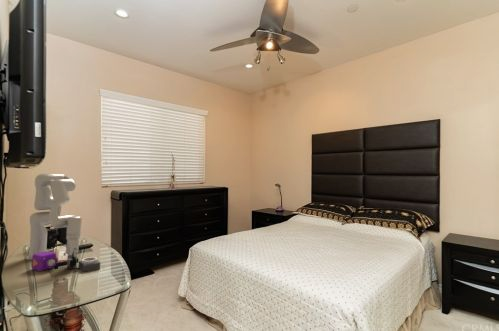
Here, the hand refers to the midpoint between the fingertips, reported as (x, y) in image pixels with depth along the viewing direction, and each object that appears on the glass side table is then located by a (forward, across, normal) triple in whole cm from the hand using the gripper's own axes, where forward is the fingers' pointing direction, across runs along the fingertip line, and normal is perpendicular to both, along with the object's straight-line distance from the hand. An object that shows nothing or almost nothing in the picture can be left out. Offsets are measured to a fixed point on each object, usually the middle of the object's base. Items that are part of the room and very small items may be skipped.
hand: (71, 264), depth 167 cm
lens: (+2, 0, 0) cm, 2 cm away
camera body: (+2, +7, +8) cm, 11 cm away
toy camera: (+2, -8, -12) cm, 15 cm away
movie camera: (+2, -64, +4) cm, 65 cm away
